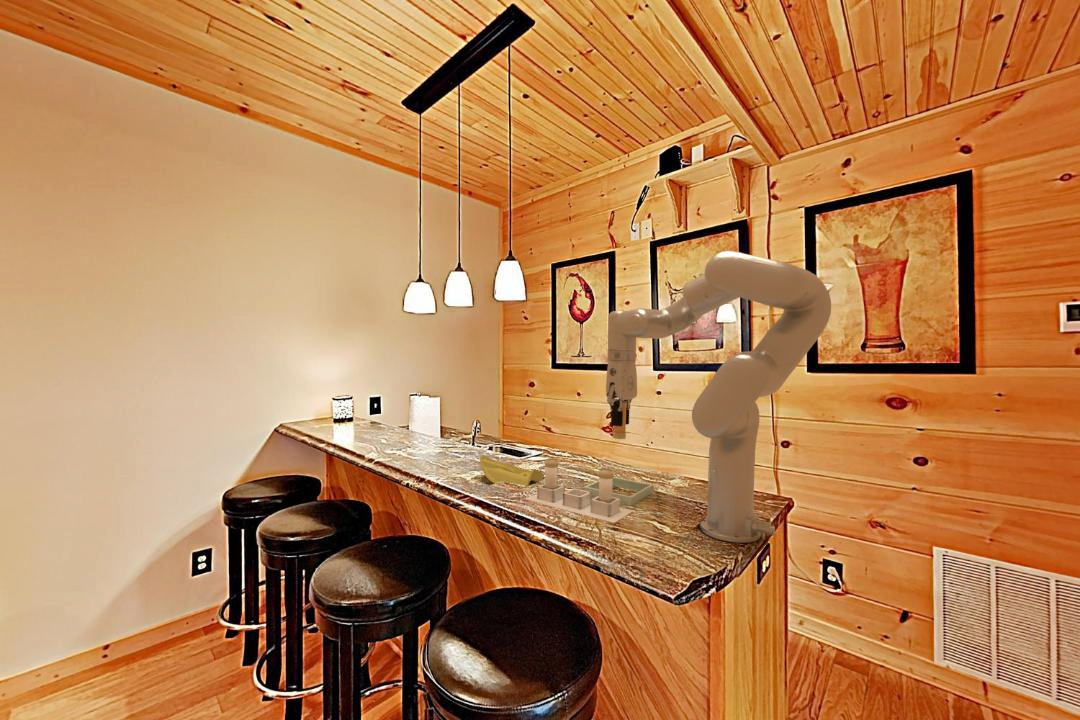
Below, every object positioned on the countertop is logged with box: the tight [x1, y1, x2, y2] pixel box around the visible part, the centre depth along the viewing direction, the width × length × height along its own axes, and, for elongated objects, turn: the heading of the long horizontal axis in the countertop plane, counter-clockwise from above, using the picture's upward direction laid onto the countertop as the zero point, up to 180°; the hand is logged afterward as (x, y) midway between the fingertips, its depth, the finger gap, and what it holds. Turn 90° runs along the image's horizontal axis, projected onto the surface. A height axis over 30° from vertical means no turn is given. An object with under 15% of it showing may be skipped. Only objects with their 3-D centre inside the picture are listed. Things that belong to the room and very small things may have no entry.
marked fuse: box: [612, 400, 627, 440], centre depth 125 cm, size 3×3×10 cm
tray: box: [582, 476, 655, 507], centre depth 126 cm, size 14×14×4 cm
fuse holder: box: [524, 483, 634, 524], centre depth 116 cm, size 10×26×4 cm, turn 53°
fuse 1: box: [544, 457, 559, 490], centre depth 121 cm, size 3×3×10 cm
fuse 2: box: [598, 468, 614, 503], centre depth 111 cm, size 3×3×10 cm
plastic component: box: [479, 454, 545, 488], centre depth 140 cm, size 20×7×10 cm
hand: (620, 424), depth 125 cm, fingers closed on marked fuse, 3 cm apart
